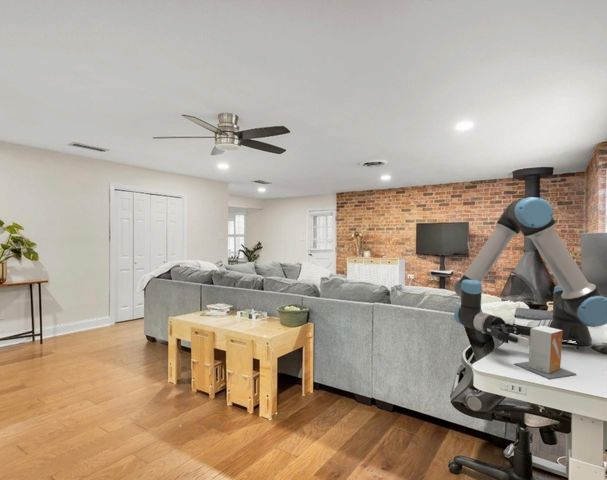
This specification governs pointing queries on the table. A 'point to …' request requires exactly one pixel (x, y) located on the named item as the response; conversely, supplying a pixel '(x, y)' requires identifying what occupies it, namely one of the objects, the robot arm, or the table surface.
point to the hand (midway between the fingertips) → (543, 341)
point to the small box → (545, 349)
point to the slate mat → (555, 374)
